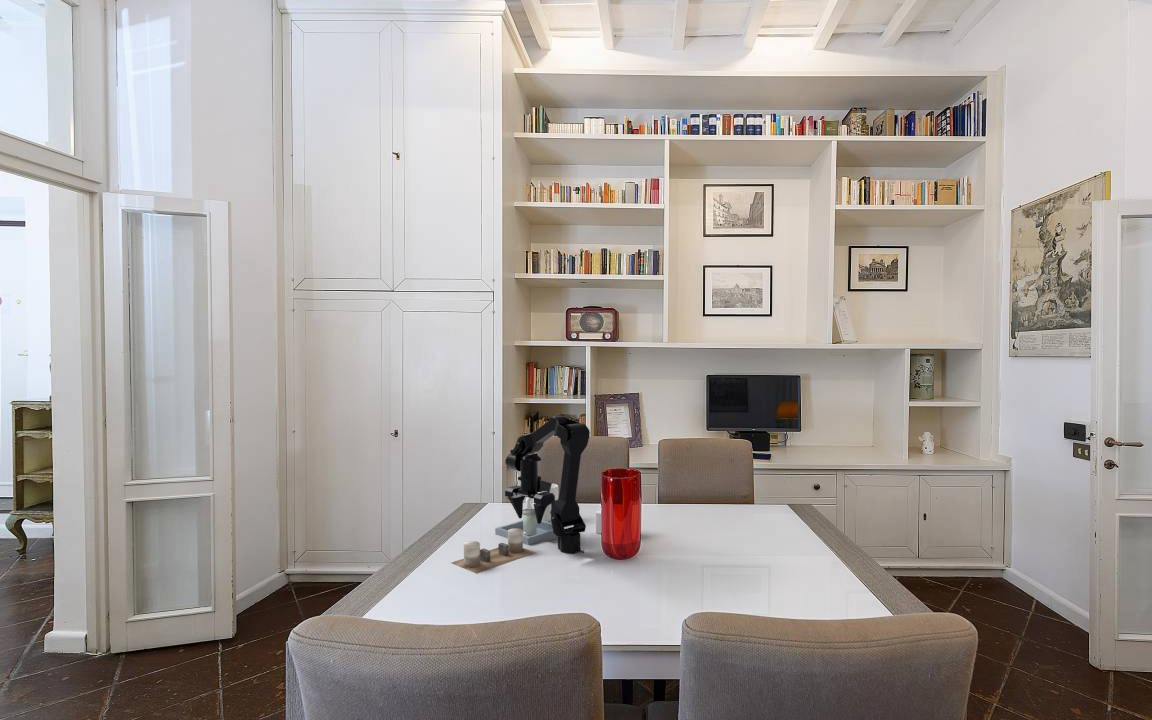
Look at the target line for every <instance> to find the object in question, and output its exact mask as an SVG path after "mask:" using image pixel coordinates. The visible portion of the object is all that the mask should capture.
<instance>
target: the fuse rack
mask: <svg viewBox="0 0 1152 720" xmlns="http://www.w3.org/2000/svg"><path fill="white" fill-rule="evenodd" d="M536 553H537V551H534V550H530V549H529V548H524V543H523V530H522V529H518V528H514V529H510V530H508V538H507V543H504V542H499V543H498V547H496V548H492V549H490V550H489V549H487V548H484V547H483V548H481V543H480V542H479V541H476V540H474V541H473V540H471V541H467V542H466V541H465V542H464V543H463V558H461V559H458V560H455V561H452V562H451V564H452V565H455V566H457V567H460V568H462V569H465V570H467V571H469V572H471V573H475V574H477V575H478V574H479V573H483V572H485V571H488V570H491V569H493V568H496V567H499V566H502V565H506V564H507V563H511V562H514V561H516V560H519V559H522V558H524V557H528V556H531V555H534V554H536Z"/></svg>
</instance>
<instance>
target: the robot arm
mask: <svg viewBox="0 0 1152 720" xmlns="http://www.w3.org/2000/svg"><path fill="white" fill-rule="evenodd" d="M590 431H591V430H590V428H589V427H588V426H587V424H585V423H583V422H580V421H578V420H574V419H571V418H569V417H567V416H564V415H556V416H552V417H550V418H549V420H548V421H546V422H545V423H543V424H542V425H541V426H540V427H538V428H537V429H535V430H534V431H532V432H530V433H527V434H523V435H521V436H518V437H517V441H516V443H515V445H514V446H513V447H514V448H513V449H510V451H509V452H510V453H508V454H507V456H506V458H505V462H504V463H505V466H506V467H507V468H508V469H509V470H512V471H517V472H520V476H518V477H517V480H518V481H520V485H512V486H508V487H506V488H505V490H504V496H505V497H507V500H509V501H510V504H511V505H512V508H513V509H514V512H515V513H516V516H517V517H518V519H523V510H524V507H523V506H524V501H525V498H527V497H529V498H532V500H533V502H534V503H533V508H534V510H535V515H536V519H537V523H538V524H540V523H541V521H542V518H543V515H544V512H545V510H546V508H547V506H548V505H550V504H551V512H550V514H551V521H550V523H552V528H553V532H554V534H556V536H558V538H557V549H558V550H559V551H560V552H561V553H563V554H568V555H569V554H572V555H574V554H578V553H583V554H585V550H582V549H581V548H582V547H581V533H585V531H586V528H587V525H586V523H585V522H584V520H583V517H582V516H581V513H580V506H579V504H578V501H577V500H576V498H577V491H578V480H579V474H580V465H581V457H582V454H583V452H584V451H585V450H586V448H587V446H588V444H589V439H590V436H591V435H590V433H591V432H590ZM553 436H556V437H558V439H560V440H559V441H560V443H559V444H560V446H561V448H562V449H563V451H564V453H563V463H562V471H561V479H560V487H559V488H560V489H559V494H558V500H555V495H554V494H553V493H549V492H550V489H551V484H553V483H552V482H548V481H545V480H542V476H540V475H539V465H538V463H539V462H541V461H542V458H541V457H540V456H539V454H538V452H540V450H541V449H542V448H543V447H544V443H545V442H546V441H548V440H549V439H550V438H552V437H553ZM542 491H547V492H542ZM538 492H542V493H538Z"/></svg>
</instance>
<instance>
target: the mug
mask: <svg viewBox="0 0 1152 720" xmlns="http://www.w3.org/2000/svg"><path fill="white" fill-rule="evenodd" d="M542 492H547V491H542ZM542 492H538V493H542ZM549 493H553V494H554V495H555V500H558V498H559V485H558V484H556V483H552V484H551V489H550V492H549ZM532 500H533V498H529V497H526V500H525V506H526V509H534V506H532ZM550 512H551V504H550V505H548V506H547V508H546V510H545V512H544V515H543V518H542V521H545V522H549V523H551V514H550Z"/></svg>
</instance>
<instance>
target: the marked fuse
mask: <svg viewBox="0 0 1152 720" xmlns="http://www.w3.org/2000/svg"><path fill="white" fill-rule="evenodd" d="M522 520H523V535H524V536H527V537H530V536H533V535H536V534H537V530H536V515H535V510H534V509H527V508H523V514H522Z"/></svg>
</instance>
